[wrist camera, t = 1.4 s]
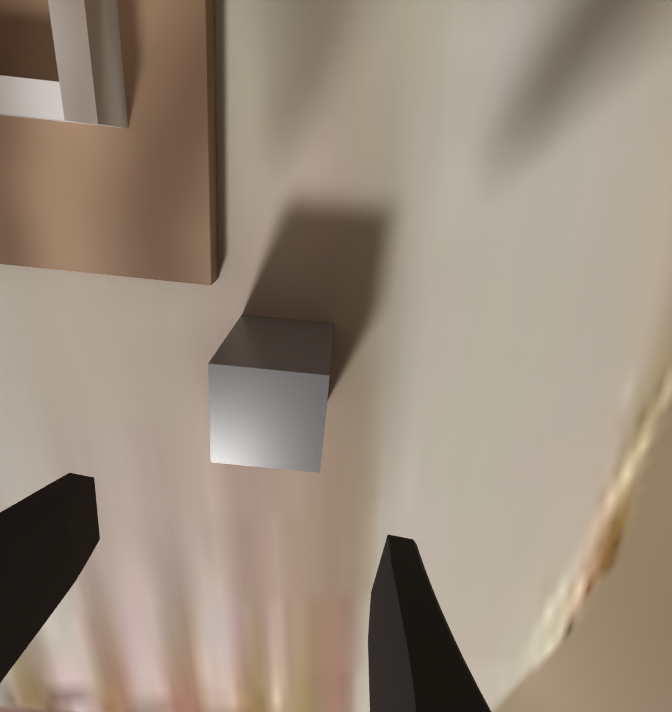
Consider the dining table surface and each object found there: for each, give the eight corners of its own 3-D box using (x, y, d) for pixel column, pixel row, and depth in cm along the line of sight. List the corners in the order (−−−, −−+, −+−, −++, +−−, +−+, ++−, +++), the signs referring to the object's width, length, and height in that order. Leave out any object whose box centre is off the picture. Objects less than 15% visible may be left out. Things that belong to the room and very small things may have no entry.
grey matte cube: (241, 395, 20) (210, 462, 16) (242, 314, 19) (208, 363, 14) (325, 403, 21) (319, 472, 16) (334, 324, 19) (329, 375, 14)
